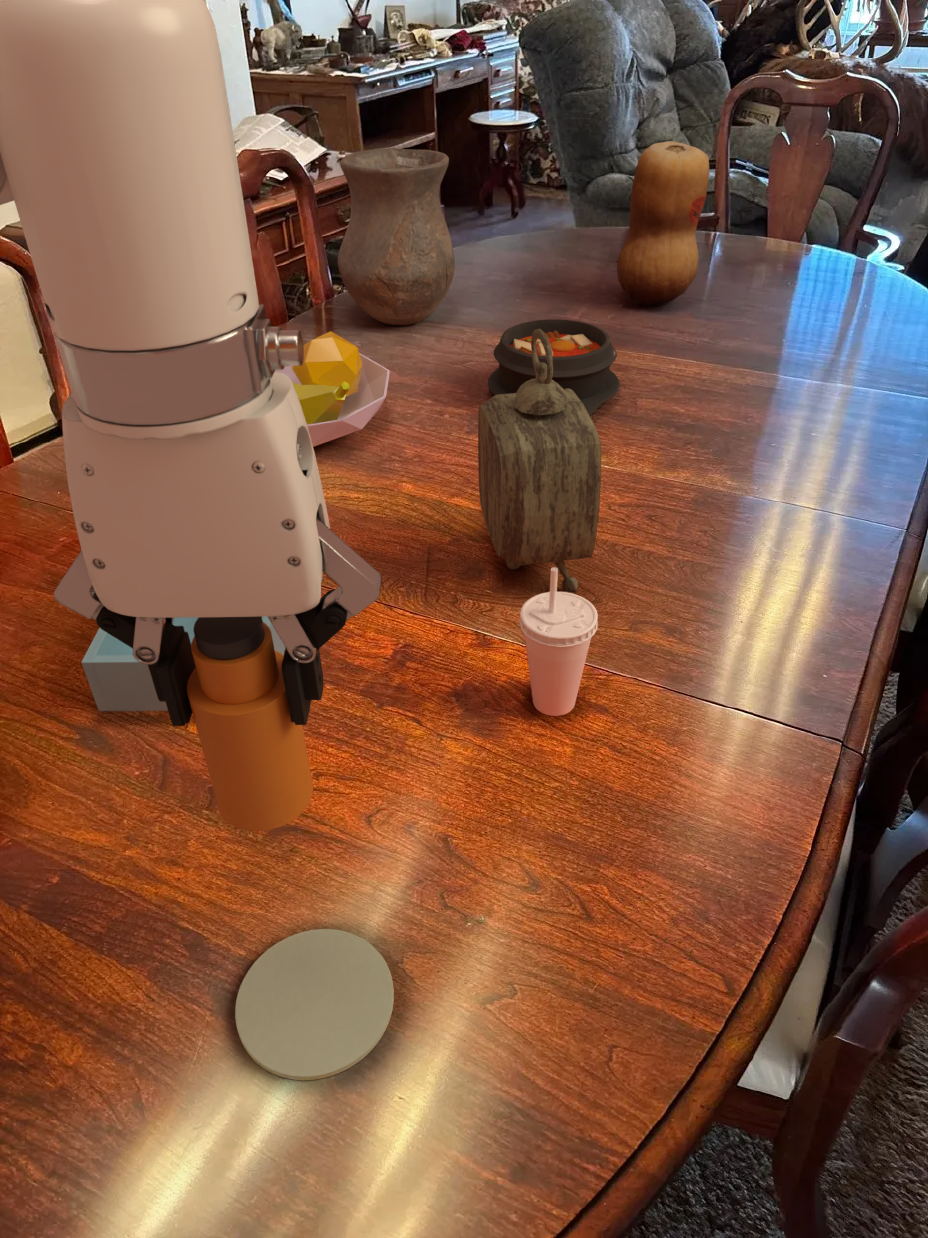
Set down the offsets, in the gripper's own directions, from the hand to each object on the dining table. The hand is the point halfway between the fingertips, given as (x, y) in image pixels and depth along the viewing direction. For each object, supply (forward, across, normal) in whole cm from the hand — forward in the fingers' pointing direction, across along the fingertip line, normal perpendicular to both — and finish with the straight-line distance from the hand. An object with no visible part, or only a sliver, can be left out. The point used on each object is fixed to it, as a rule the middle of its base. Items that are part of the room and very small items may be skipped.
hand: (245, 703), depth 47 cm
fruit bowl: (+24, +12, -79) cm, 84 cm away
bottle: (+7, 0, 0) cm, 7 cm away
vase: (+24, +1, -121) cm, 123 cm away
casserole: (+24, -23, -89) cm, 95 cm away
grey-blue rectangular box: (+23, +14, -31) cm, 41 cm away
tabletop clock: (+24, -18, -46) cm, 55 cm away
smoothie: (+24, -18, -25) cm, 39 cm away
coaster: (+23, -1, +3) cm, 24 cm away
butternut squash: (+24, -43, -127) cm, 136 cm away
